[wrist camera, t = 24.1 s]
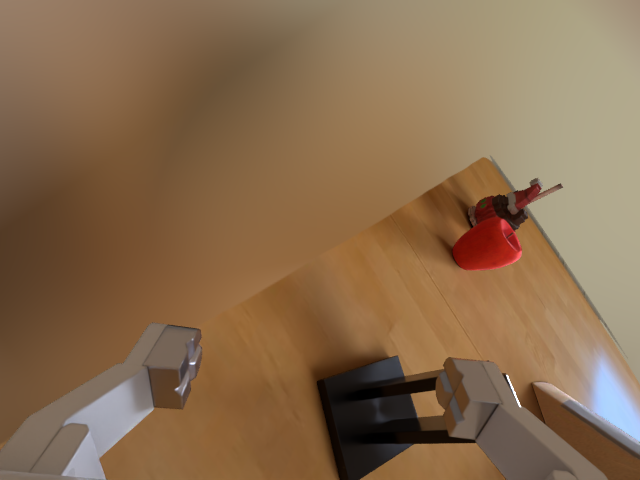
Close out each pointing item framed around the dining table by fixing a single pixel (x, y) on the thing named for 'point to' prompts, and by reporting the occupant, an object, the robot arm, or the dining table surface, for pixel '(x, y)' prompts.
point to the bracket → (377, 415)
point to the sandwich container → (589, 434)
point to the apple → (487, 246)
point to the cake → (509, 205)
